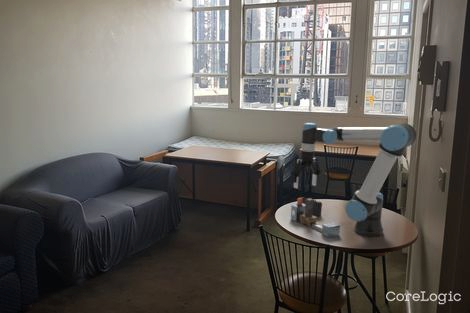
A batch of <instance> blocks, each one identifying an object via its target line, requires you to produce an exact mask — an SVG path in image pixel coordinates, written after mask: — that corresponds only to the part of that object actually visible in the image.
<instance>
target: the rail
mask: <svg viewBox="0 0 470 313" xmlns="http://www.w3.org/2000/svg"><path fill="white" fill-rule="evenodd" d="M301 214H305V204H303V203H302V206H297V203H296V204H291V208H290V220H291V221H292V222H295V223H298V222H299V223H301V219H300V215H301ZM310 227H311V228H312V229H315V230H317V231H319V232H321V235H322V236H323V237H325V238H326V239H331V238H335V237H339V236H340V233H341V225H340V224H339V223H337V222H334V221H333V222H327V223H322V225H320V224H318V223H317V222H316V223H314V222H313V223H311V224H310ZM310 227H309V228H310Z"/></svg>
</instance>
